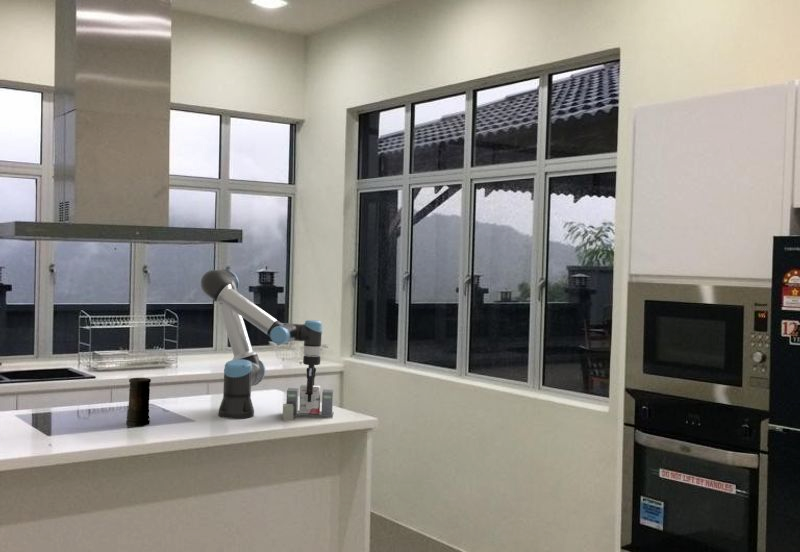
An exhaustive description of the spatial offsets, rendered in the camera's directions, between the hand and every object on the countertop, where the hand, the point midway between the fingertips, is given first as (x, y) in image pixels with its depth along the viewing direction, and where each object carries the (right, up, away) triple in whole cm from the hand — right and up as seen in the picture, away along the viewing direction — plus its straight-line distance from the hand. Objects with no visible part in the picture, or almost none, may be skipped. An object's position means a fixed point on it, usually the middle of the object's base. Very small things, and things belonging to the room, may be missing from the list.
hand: (309, 407), depth 351 cm
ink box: (0, -2, 0) cm, 2 cm away
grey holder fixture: (0, -3, 0) cm, 3 cm away
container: (-65, -1, -34) cm, 73 cm away
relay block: (-8, -3, -10) cm, 14 cm away
